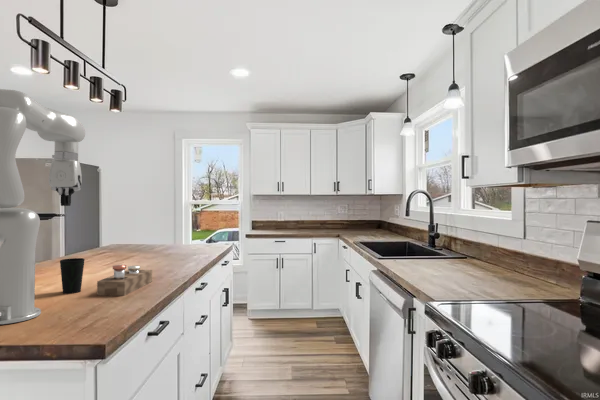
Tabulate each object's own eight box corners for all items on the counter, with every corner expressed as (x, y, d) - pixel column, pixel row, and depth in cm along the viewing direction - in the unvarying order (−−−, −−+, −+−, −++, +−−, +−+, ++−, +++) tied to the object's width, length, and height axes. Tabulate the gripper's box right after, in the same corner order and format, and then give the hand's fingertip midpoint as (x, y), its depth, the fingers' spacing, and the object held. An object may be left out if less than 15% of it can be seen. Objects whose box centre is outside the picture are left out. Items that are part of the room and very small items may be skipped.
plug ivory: (136, 285, 138) (136, 267, 138) (125, 285, 138) (125, 267, 138) (142, 282, 143) (142, 265, 143) (131, 282, 143) (131, 265, 143)
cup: (71, 295, 124) (72, 261, 124) (54, 293, 125) (54, 260, 125) (88, 290, 131) (89, 258, 131) (72, 288, 133) (72, 257, 133)
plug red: (122, 285, 127) (122, 267, 127) (109, 285, 127) (110, 266, 127) (128, 283, 132) (128, 264, 132) (116, 282, 132) (116, 264, 132)
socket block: (124, 295, 124) (124, 281, 124) (97, 295, 124) (97, 281, 124) (152, 281, 146) (152, 269, 146) (128, 281, 146) (128, 269, 146)
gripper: (39, 156, 128) (38, 205, 128) (79, 156, 128) (78, 206, 128) (54, 159, 136) (53, 205, 136) (91, 159, 136) (91, 205, 135)
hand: (65, 205), depth 132 cm, fingers closed
